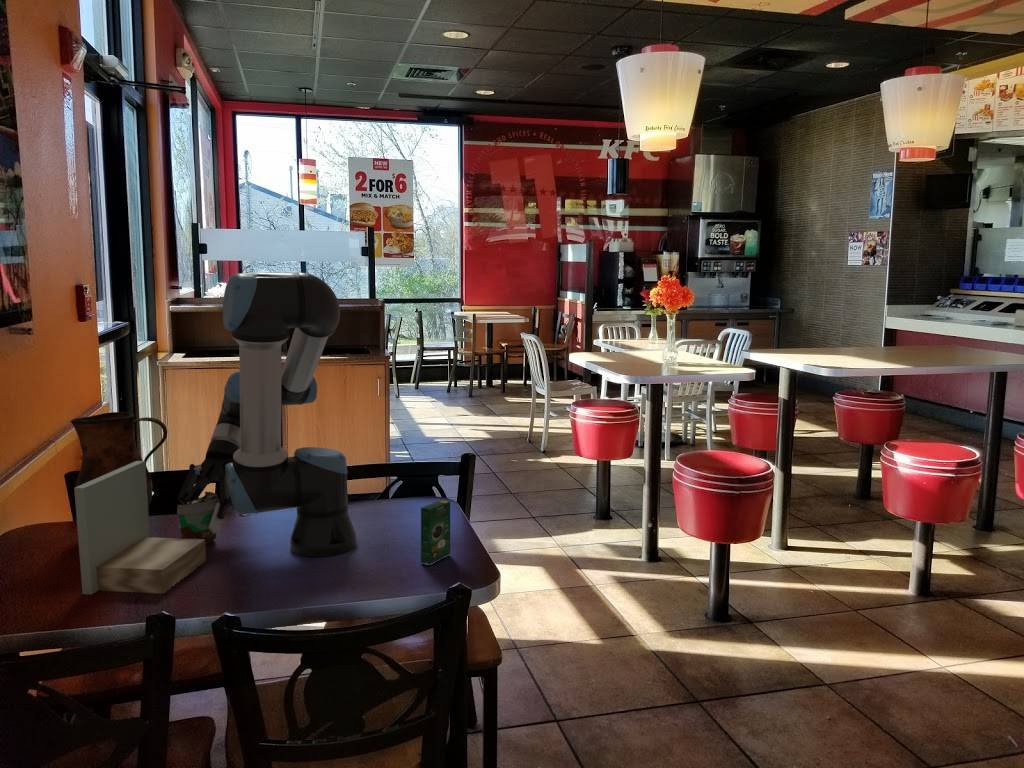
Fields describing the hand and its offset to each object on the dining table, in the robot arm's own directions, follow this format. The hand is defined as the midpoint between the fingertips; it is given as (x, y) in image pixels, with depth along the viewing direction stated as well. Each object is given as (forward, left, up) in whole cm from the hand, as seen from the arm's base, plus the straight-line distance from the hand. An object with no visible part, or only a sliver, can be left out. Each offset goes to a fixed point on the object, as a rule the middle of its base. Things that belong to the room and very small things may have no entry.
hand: (197, 530), depth 184 cm
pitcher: (+22, -7, -5) cm, 24 cm away
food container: (0, -4, -4) cm, 5 cm away
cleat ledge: (+2, +16, -5) cm, 16 cm away
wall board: (+10, +16, -5) cm, 19 cm away
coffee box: (-56, +1, -5) cm, 56 cm away
